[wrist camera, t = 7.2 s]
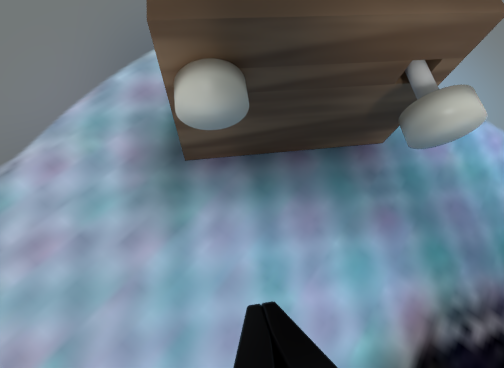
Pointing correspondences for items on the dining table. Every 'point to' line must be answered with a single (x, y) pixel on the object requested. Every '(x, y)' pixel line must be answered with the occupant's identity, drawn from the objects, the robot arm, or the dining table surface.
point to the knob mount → (314, 64)
